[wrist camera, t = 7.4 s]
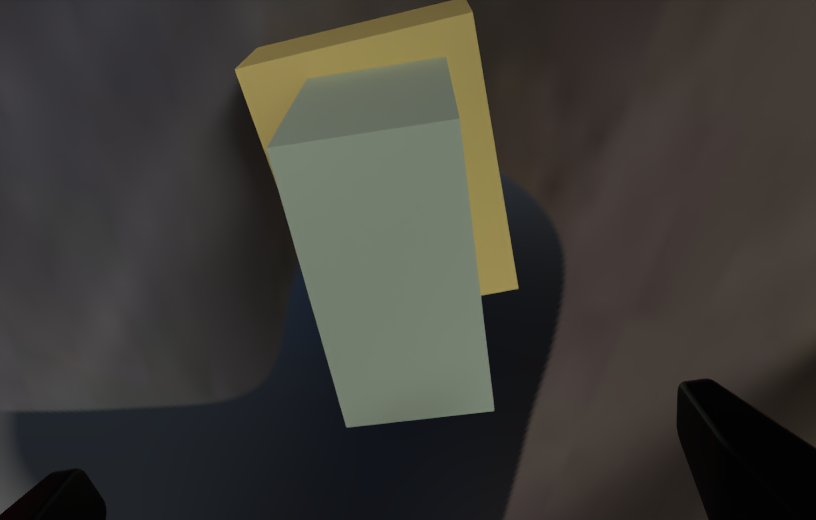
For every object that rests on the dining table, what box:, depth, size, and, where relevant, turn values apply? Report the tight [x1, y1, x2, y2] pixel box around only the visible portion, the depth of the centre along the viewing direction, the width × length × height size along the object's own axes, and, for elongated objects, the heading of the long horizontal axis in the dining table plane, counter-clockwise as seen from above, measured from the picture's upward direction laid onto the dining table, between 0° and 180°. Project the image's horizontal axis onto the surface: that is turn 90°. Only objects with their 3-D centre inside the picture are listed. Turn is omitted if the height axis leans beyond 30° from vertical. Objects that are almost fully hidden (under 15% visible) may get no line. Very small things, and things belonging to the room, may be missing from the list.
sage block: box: [266, 56, 494, 427], centre depth 15 cm, size 4×7×5 cm, turn 9°
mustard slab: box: [235, 0, 518, 295], centre depth 18 cm, size 6×8×3 cm
